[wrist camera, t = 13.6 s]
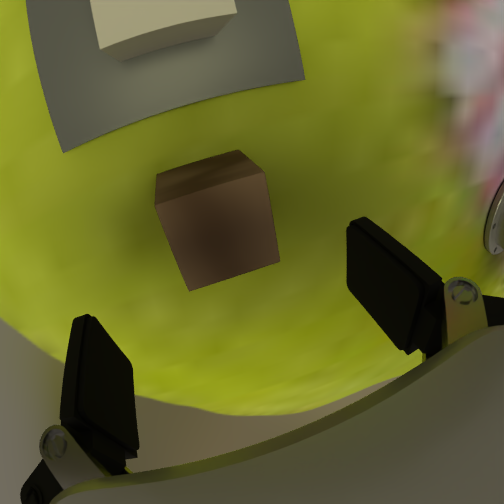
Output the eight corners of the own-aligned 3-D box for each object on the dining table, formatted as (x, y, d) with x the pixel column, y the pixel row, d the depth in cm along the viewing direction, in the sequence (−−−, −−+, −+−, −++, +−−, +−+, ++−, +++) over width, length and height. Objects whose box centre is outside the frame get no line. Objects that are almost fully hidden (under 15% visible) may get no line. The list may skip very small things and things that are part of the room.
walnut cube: (238, 149, 17) (264, 171, 13) (253, 220, 20) (280, 261, 16) (156, 173, 16) (154, 205, 12) (181, 243, 19) (188, 291, 15)
